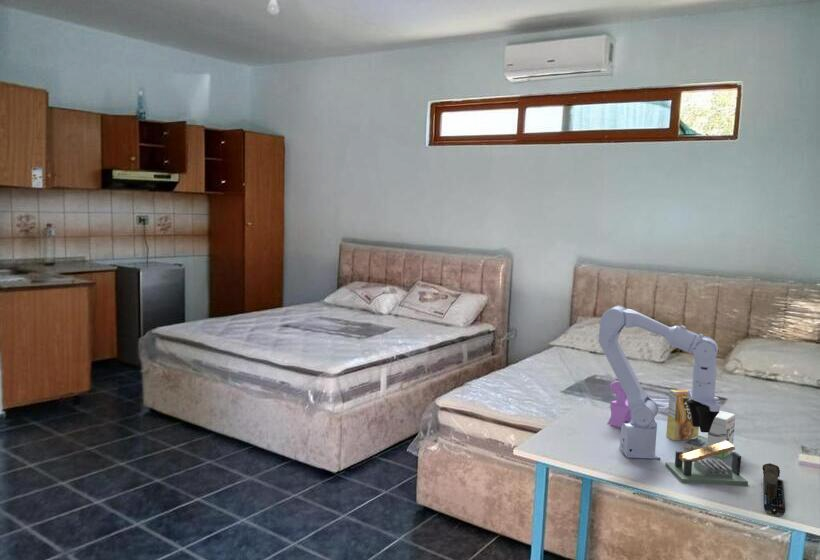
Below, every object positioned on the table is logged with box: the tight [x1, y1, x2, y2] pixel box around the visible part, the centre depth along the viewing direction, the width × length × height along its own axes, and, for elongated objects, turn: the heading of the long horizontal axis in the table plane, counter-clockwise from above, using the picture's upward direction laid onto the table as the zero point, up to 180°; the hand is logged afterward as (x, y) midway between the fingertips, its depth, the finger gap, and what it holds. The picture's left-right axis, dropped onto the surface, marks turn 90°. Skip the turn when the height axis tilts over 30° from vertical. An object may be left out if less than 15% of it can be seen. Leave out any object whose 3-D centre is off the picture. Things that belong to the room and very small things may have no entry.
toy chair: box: [606, 380, 631, 429], centre depth 202 cm, size 8×9×15 cm
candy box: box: [665, 388, 700, 441], centre depth 190 cm, size 9×4×15 cm, turn 103°
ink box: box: [706, 409, 736, 459], centre depth 178 cm, size 9×5×12 cm, turn 135°
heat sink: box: [674, 450, 742, 478], centre depth 162 cm, size 15×7×5 cm, turn 88°
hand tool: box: [762, 462, 781, 501], centre depth 154 cm, size 19×4×5 cm, turn 146°
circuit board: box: [664, 461, 749, 486], centre depth 162 cm, size 17×11×1 cm, turn 88°
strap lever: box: [678, 441, 736, 463], centre depth 161 cm, size 14×4×1 cm, turn 88°
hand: (701, 429), depth 168 cm, fingers open, 4 cm apart
